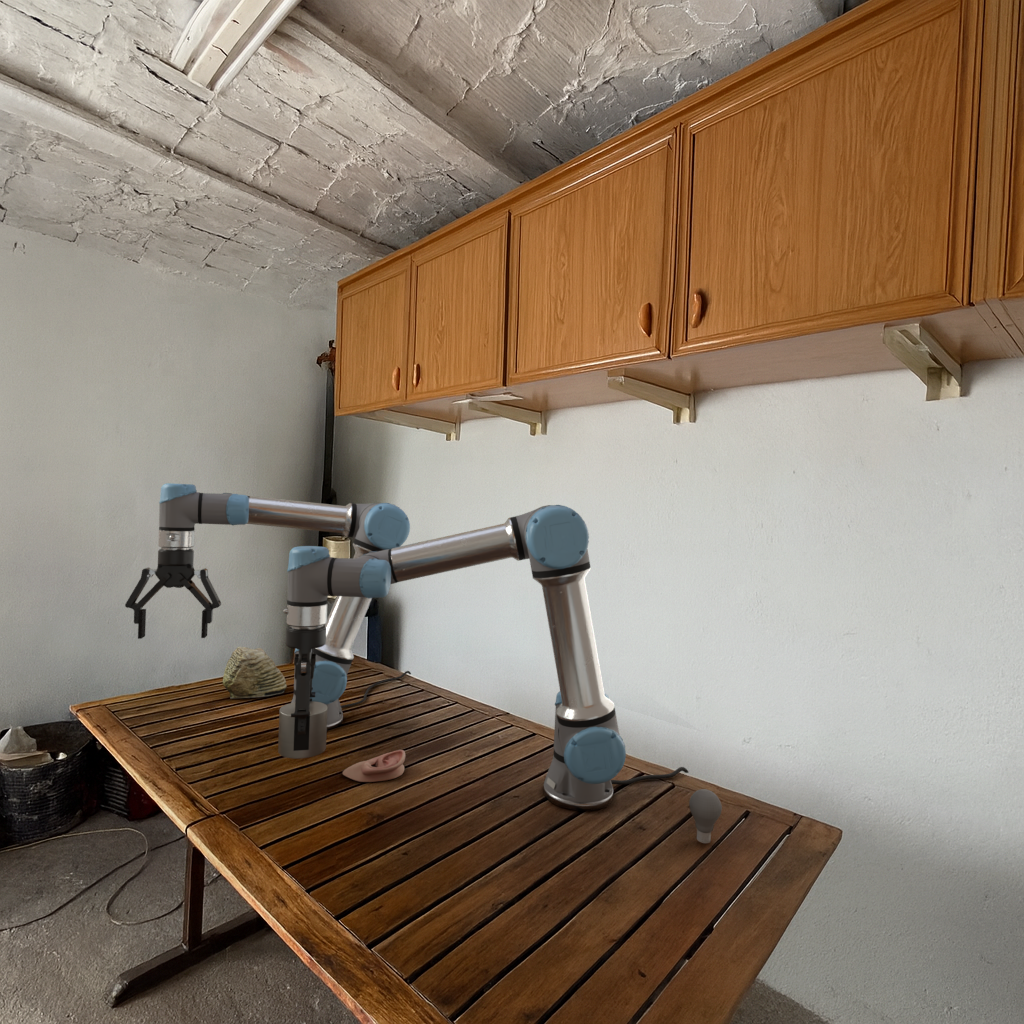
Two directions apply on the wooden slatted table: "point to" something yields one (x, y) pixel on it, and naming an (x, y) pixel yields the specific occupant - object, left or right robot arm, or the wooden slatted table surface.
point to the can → (315, 731)
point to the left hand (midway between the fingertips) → (173, 637)
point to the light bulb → (705, 812)
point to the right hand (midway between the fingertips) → (302, 739)
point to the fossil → (252, 674)
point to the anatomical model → (377, 768)
